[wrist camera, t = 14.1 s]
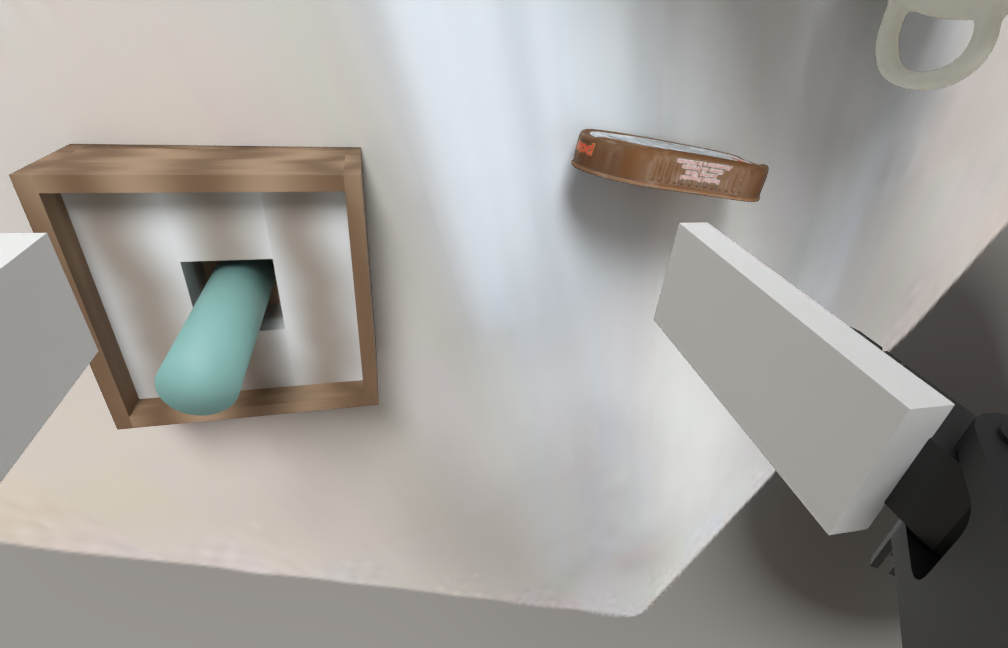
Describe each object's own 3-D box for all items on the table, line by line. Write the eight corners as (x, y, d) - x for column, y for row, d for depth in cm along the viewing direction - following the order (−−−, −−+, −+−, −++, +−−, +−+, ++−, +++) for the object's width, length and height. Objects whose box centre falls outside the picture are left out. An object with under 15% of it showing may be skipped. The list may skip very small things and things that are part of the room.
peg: (271, 246, 39) (231, 352, 27) (279, 294, 41) (246, 411, 29) (212, 248, 38) (144, 358, 26) (223, 296, 40) (166, 419, 28)
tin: (555, 156, 41) (595, 189, 34) (565, 114, 40) (609, 140, 33) (715, 181, 46) (779, 215, 39) (730, 145, 44) (799, 173, 37)
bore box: (360, 147, 37) (360, 175, 32) (376, 354, 47) (378, 404, 41) (69, 144, 33) (8, 174, 28) (150, 370, 43) (117, 429, 37)
